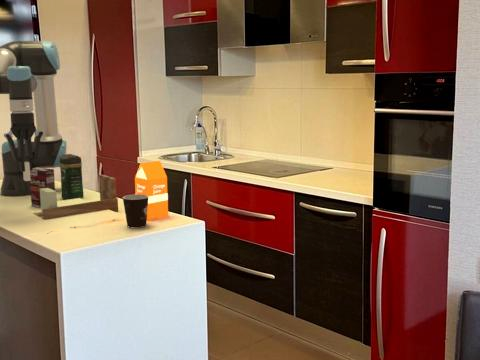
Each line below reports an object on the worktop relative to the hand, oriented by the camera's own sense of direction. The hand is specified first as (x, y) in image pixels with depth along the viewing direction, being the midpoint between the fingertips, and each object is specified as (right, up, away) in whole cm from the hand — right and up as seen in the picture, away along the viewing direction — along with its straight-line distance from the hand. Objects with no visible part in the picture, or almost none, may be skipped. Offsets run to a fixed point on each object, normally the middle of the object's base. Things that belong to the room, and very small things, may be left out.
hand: (27, 180), depth 207 cm
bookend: (+6, -12, +7) cm, 15 cm away
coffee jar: (+5, -8, +40) cm, 41 cm away
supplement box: (-1, -11, +21) cm, 24 cm away
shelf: (+13, -13, +13) cm, 23 cm away
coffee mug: (+38, -16, -4) cm, 41 cm away
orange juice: (+42, -13, +9) cm, 45 cm away
